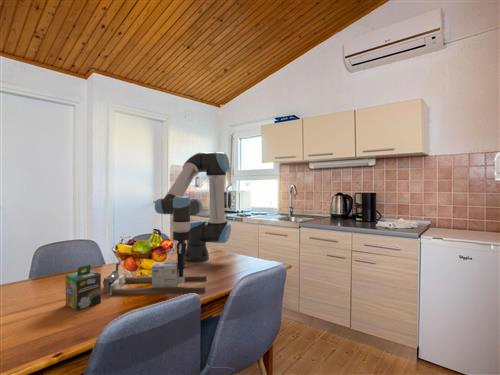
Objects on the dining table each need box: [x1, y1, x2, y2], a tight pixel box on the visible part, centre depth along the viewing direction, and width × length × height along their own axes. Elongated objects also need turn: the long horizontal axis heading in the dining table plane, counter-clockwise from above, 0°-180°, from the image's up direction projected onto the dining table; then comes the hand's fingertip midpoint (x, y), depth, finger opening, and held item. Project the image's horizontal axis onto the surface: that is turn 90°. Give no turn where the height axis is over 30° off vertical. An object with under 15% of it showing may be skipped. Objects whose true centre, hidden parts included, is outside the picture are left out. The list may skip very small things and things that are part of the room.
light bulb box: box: [151, 261, 179, 288], centre depth 127 cm, size 11×7×11 cm, turn 100°
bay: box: [109, 272, 207, 296], centre depth 128 cm, size 16×38×4 cm, turn 96°
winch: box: [102, 262, 121, 294], centre depth 128 cm, size 16×4×9 cm, turn 6°
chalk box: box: [64, 264, 102, 312], centre depth 109 cm, size 9×9×15 cm
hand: (181, 283), depth 129 cm, fingers closed
